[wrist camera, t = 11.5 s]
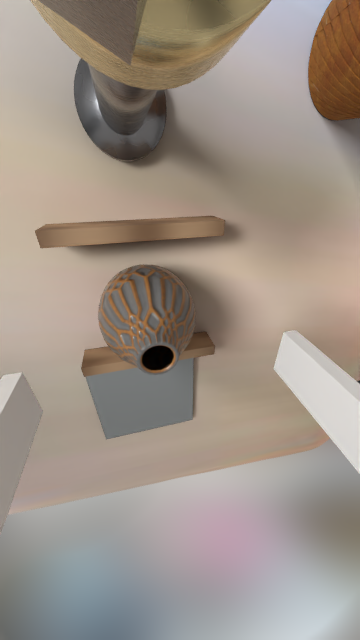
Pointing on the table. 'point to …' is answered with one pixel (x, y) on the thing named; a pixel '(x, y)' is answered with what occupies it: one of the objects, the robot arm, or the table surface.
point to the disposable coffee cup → (337, 62)
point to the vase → (147, 317)
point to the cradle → (131, 232)
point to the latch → (151, 35)
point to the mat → (142, 398)
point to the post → (118, 114)
